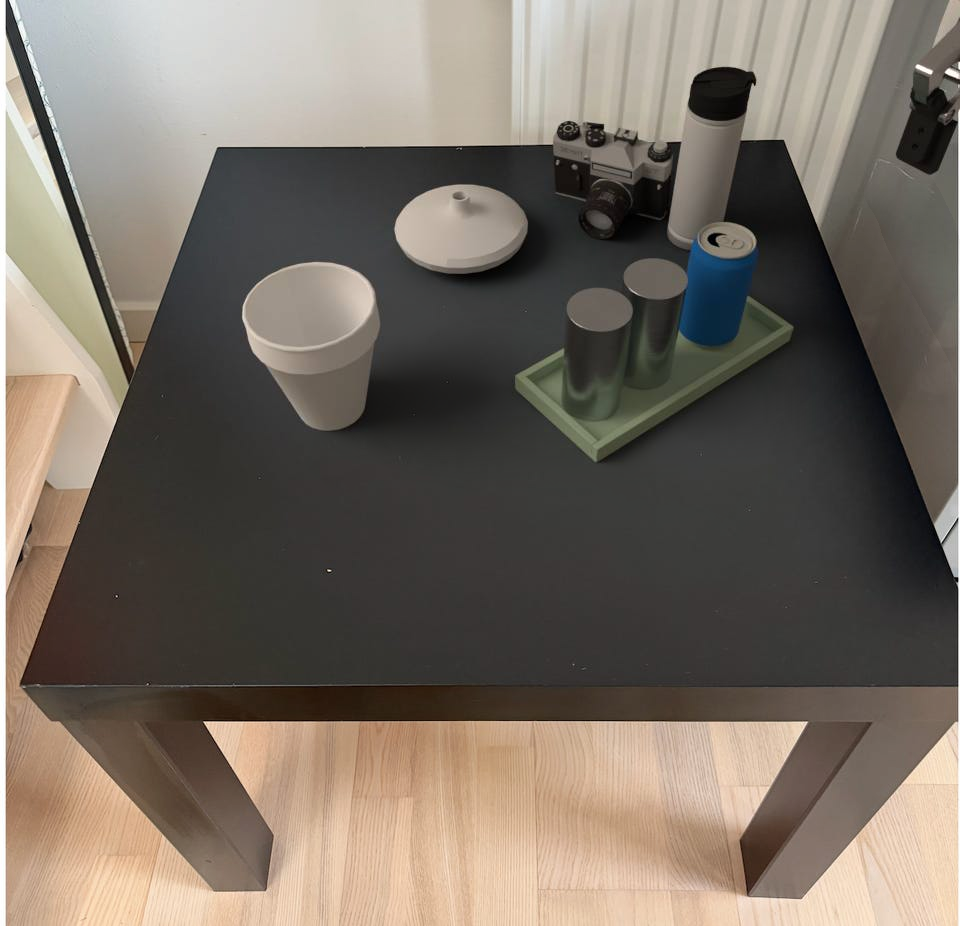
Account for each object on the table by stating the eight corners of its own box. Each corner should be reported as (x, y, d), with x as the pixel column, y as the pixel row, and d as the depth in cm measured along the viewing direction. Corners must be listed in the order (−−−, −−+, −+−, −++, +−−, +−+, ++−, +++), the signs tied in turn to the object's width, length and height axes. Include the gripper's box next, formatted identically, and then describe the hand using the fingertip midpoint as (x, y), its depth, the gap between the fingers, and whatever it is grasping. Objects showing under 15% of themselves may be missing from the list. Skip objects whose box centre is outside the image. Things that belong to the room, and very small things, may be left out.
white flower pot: (300, 470, 88) (272, 369, 77) (253, 392, 94) (221, 289, 84) (413, 420, 91) (400, 317, 81) (359, 348, 98) (341, 245, 88)
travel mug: (726, 252, 107) (762, 90, 92) (669, 252, 107) (696, 91, 92) (718, 220, 111) (751, 60, 96) (664, 220, 111) (688, 61, 96)
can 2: (682, 372, 94) (701, 281, 85) (640, 398, 92) (654, 307, 82) (642, 341, 97) (656, 250, 88) (600, 366, 95) (610, 274, 86)
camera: (533, 229, 113) (528, 167, 104) (566, 170, 117) (564, 106, 109) (645, 259, 109) (649, 197, 100) (675, 197, 113) (682, 132, 104)
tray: (789, 340, 97) (794, 326, 96) (596, 463, 87) (597, 449, 86) (704, 281, 104) (707, 267, 102) (514, 389, 94) (514, 375, 92)
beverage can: (688, 304, 101) (706, 212, 91) (745, 322, 98) (769, 230, 89) (667, 340, 97) (683, 248, 88) (725, 359, 95) (748, 267, 86)
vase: (373, 236, 111) (366, 186, 105) (480, 193, 116) (479, 142, 111) (441, 306, 102) (437, 255, 97) (554, 255, 107) (556, 204, 102)
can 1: (632, 403, 91) (646, 312, 82) (587, 430, 89) (596, 340, 80) (593, 370, 94) (602, 279, 85) (548, 396, 92) (553, 305, 83)
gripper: (1042, -65, 48) (927, 209, 61) (1207, -141, 54) (1071, 123, 68) (921, -105, 52) (838, 161, 65) (1088, -171, 58) (982, 83, 72)
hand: (957, 141), depth 66 cm, fingers open, 9 cm apart
